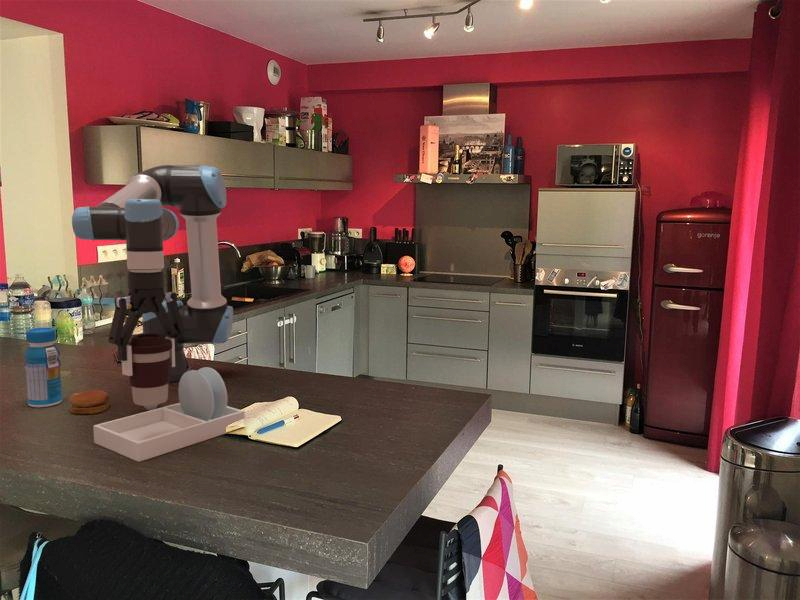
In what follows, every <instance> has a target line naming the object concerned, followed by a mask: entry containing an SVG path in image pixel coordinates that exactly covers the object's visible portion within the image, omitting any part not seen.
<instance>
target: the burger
mask: <svg viewBox="0 0 800 600" xmlns="http://www.w3.org/2000/svg"><path fill="white" fill-rule="evenodd" d="M68 400H69V403H70V404H71V407H70V410H69V412H70V414H80V415H81V414H82V415H93V414H94V415H95V414H98V413H102V412H105V411H107V410H108V409H109V408H110V406H109V402H108V401H109V400H110V394H109V393H107V392H106V391H104V390H99V389H88V390H84V391H78V392H74V393H73V394H71V396H70V397H69V399H68Z"/></svg>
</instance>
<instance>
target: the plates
mask: <svg viewBox="0 0 800 600" xmlns="http://www.w3.org/2000/svg"><path fill="white" fill-rule="evenodd" d="M177 388H178V389H177V392H178V393H177V394H178V401H179V403H180V405H181V408H182V410H183V412H184V414H186V415H189V416H192V417H195V418H198V419H201V420H204V421H208V420H209V419H211V420H213V419H216V418H219V417H222V416H223V414H224V413H225V411H226V407H227V406H228V390H227V387H226V383H225V381H224V380H223V378H222V376H221V374H220V373H219V372H218V371H217V370H216V369H214V368H213V367H210V366H205V367H201V368H199V369H198V370H197V369H190V371H187V372H185V373H184V374H183V375H182V377H181V379H180V380H179V382H178V387H177Z"/></svg>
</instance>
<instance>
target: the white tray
mask: <svg viewBox="0 0 800 600" xmlns="http://www.w3.org/2000/svg"><path fill="white" fill-rule="evenodd" d="M245 416H246V415H245V410H242V409H238V408H235V407H232V406H228V405H227V407H226V411H225V413H224V414H223V416H222V417H219V418H216V419H213V420H211V419H209V420H208V421H204V420H201V419H198V418H195V417H192V416H189V415H186V414H184V412H183V410H182V408H181V405H180V402H178V403H172V404H169V405H166V406H163V407H159V408H158V407H157V408H156V409H154V410H150V411H148V410H147V411H143V412H139V413H135V414H133V415H128V416H125V417H122V418H117V419H113V420H110V421H105V422H102V423H101V422H100V423H98V424H94V425H93V444H96V445H98V446H101V447H103V448H105V449H108V450H111V451H112V452H115V453H117V454H119V455H122V456H124V457H125V458H128V459H131V460H133V461H135V462H139V463H140V462H143V461H146V460H149V459H152V458H155V457H158V456H161V455H165V454H168V453H170V452H174V451H177V450H180V449H182V448H186V447H189V446H191V445H192V446H193V445H195V444H198V443H201V442H204V441H208V440H209V439H213V438H217V437H219V436H223V435H226V434H227V433H226V427H227V426H228V425H230V424H232V423H234V422H236V421H239V420H241V419H244V418H245ZM245 419H246V418H245Z"/></svg>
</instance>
